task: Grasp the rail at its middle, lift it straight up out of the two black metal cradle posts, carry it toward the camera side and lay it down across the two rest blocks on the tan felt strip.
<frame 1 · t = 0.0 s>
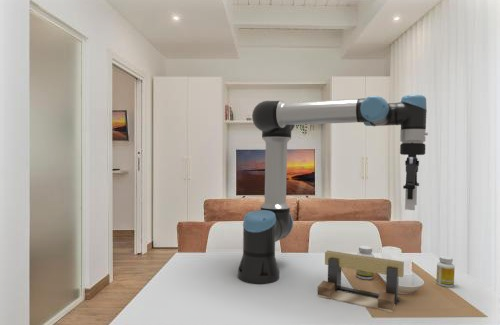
hand: (411, 207, 113), 28 cm above the table, fingers open, 13 cm apart
rail: (362, 269, 110), point 8 cm above the table, touching rack
pill bottle: (364, 277, 126), on the table
rack: (362, 293, 110), on the table
supplement bottle: (445, 285, 120), on the table
rest: (355, 299, 105), on the table
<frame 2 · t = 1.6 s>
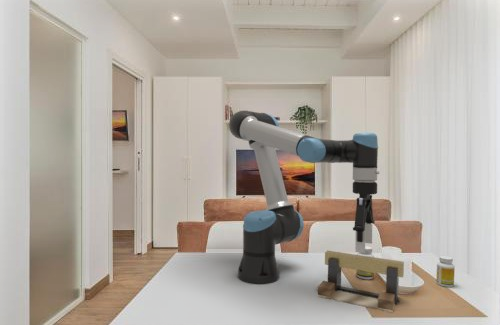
hand: (364, 247, 110), 15 cm above the table, fingers open, 13 cm apart
nothing on the table moved.
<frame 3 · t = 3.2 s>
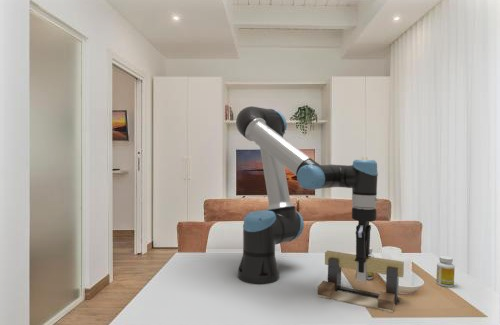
hand: (362, 279, 110), 5 cm above the table, fingers closed on rail, 3 cm apart
rail: (362, 269, 110), point 8 cm above the table, touching gripper, rack
everything else where it was.
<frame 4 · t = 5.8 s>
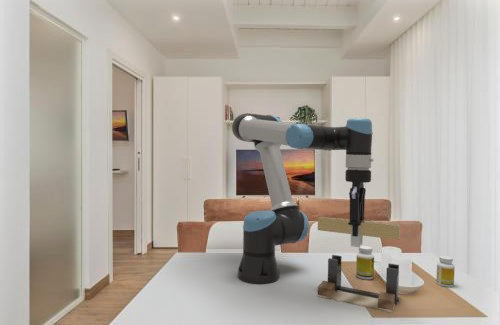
hand: (356, 245, 105), 17 cm above the table, fingers closed on rail, 3 cm apart
rail: (356, 233, 105), point 20 cm above the table, touching gripper
everything else where it was.
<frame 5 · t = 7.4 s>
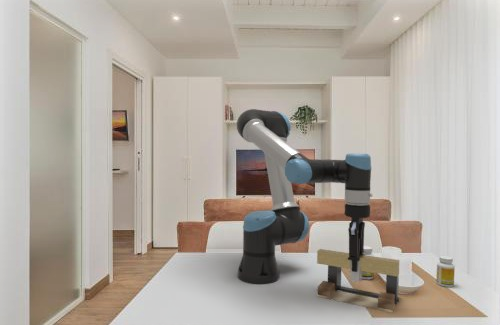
hand: (356, 279, 105), 6 cm above the table, fingers closed on rail, 3 cm apart
rail: (356, 268, 105), point 10 cm above the table, touching gripper
everything else where it was.
when the fingers open (2 cm above the table, at t = 8.6 s): rail drops 2 cm, resting on rest.
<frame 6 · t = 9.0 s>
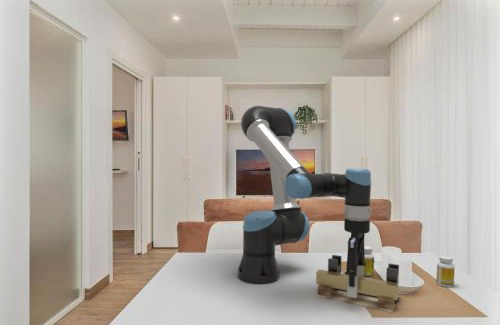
hand: (355, 291, 105), 3 cm above the table, fingers open, 9 cm apart
rail: (355, 290, 105), point 3 cm above the table, touching rest
everything else where it was.
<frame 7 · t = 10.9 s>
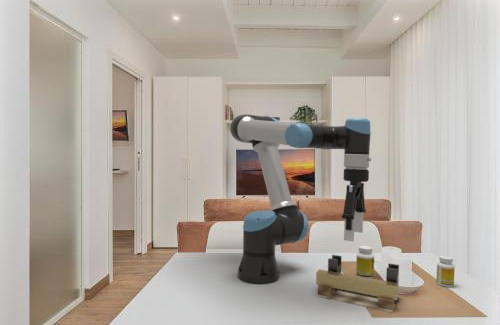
hand: (353, 236, 107), 19 cm above the table, fingers open, 13 cm apart
nothing on the table moved.
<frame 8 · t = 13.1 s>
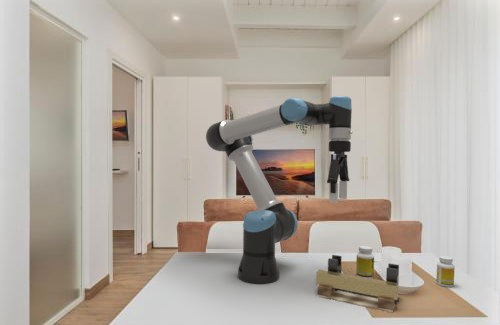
hand: (338, 200, 121), 29 cm above the table, fingers open, 13 cm apart
nothing on the table moved.
at the end: rail 0.0 cm off-centre on the rest, point 3.0 cm above the rest's base; rail touching rest; rail tilted 0° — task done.
